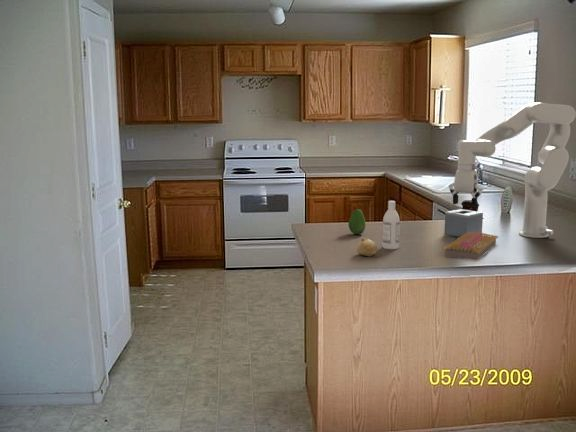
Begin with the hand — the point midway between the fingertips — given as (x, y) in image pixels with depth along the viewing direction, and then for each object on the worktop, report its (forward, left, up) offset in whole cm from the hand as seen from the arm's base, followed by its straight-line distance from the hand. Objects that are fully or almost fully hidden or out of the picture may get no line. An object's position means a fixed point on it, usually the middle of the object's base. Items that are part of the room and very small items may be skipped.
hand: (464, 205), depth 277 cm
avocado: (+34, +35, -14) cm, 51 cm away
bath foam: (+6, +44, -14) cm, 47 cm away
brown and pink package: (-18, +21, -15) cm, 31 cm away
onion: (+4, +61, -15) cm, 63 cm away
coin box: (0, 0, -14) cm, 14 cm away
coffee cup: (+10, -20, -14) cm, 27 cm away
